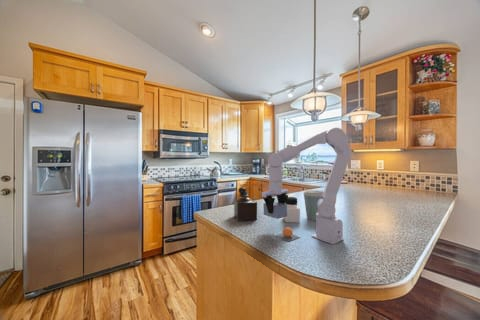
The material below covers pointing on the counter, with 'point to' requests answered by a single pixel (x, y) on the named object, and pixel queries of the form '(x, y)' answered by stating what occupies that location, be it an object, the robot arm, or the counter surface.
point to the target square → (287, 237)
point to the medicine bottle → (292, 210)
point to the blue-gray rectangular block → (276, 210)
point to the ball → (287, 232)
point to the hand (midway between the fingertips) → (275, 211)
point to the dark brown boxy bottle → (245, 207)
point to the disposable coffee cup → (312, 202)
